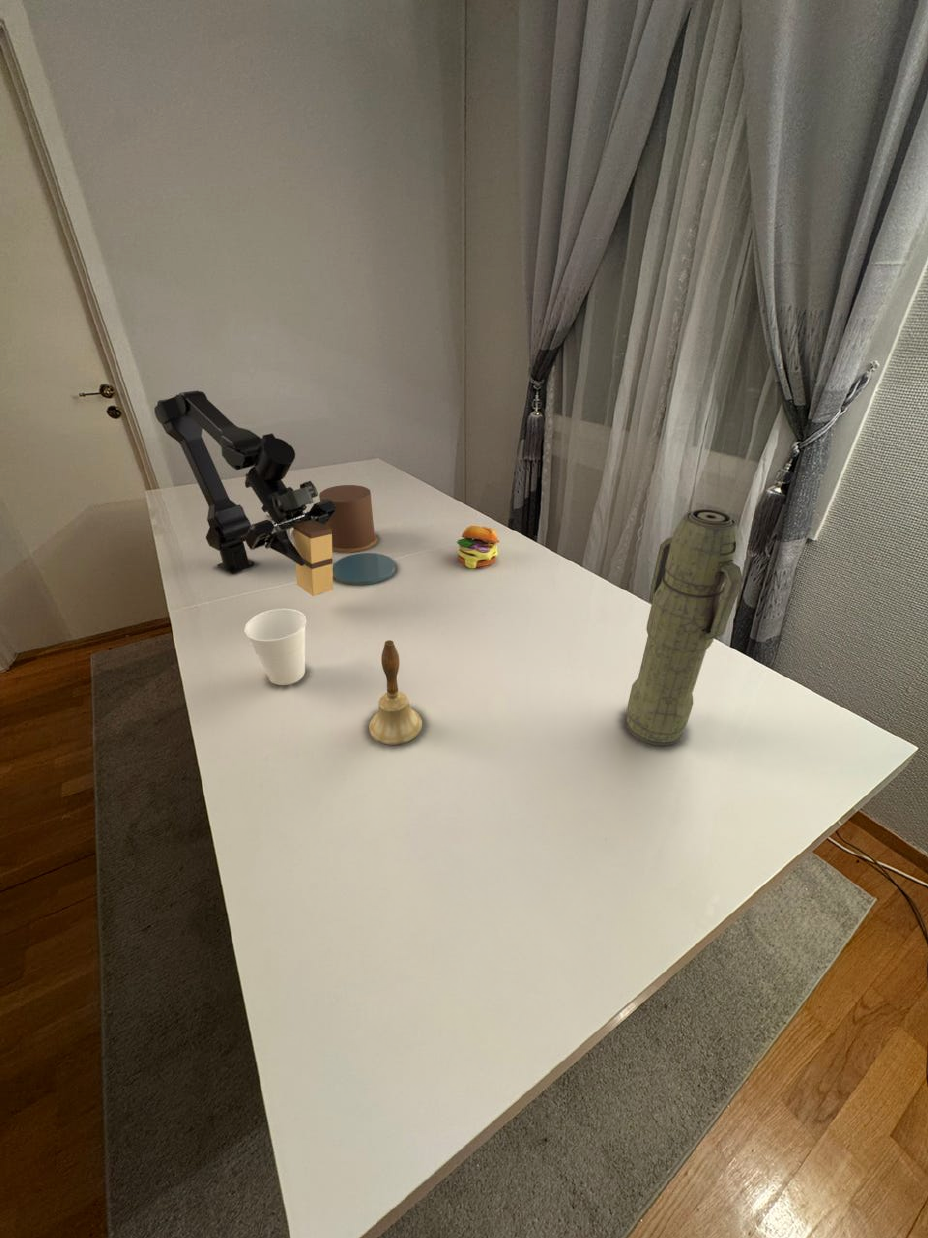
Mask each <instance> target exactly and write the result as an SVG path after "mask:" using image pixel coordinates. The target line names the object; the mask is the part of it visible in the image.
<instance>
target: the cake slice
mask: <svg viewBox="0 0 928 1238" xmlns="http://www.w3.org/2000/svg"><path fill="white" fill-rule="evenodd" d="M292 533H293V543H294V544H293V545H294V547H295V548H296V550H297V551H298V553H299V554H300V556H301V557H302V559H303V561H304V565H303V566H301V565H299V564H297V563H296V562H295V575H296V576H295V577H296V585H297V586H298V587H299V588H301V589H302V590H304V591H305V592H307V593H308V594H309V595H311V596H312V597H315V596H318V595H321V594H324V593H326V592H327V593H328V592H330V591H333V590H334V576H333V566H334V565H333V550H332V529H331V528H329V527H327V526H325V525H323V524H321V523H320V522H318V521H316V520H310V521H305V522H300V523H296V524H293V531H292Z"/></svg>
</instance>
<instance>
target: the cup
mask: <svg viewBox="0 0 928 1238" xmlns="http://www.w3.org/2000/svg"><path fill="white" fill-rule="evenodd" d="M306 625H307V617H306V616H305V614H304V613H303V612H301V611H299V610H298V609H297V610H296V609H292V608H274V609H269V610H266V611H263V612H260V613H258V614H256V615H254V616H252V617H251V618H250V619H249V620H248V621H247V622H246V623H245V625H244V628H243V631H244V635H245V636H246V637H247V639H249V642H250V643H251V646H252V648H253V650H254V652H255V654H256V655H257V657H258V660H259V661H260V664H261V665H262V667H263V670H264V671H265V674H266V676H267V677H268V680H269V681H270V682H271V683H272V684H275V685H278V686H289V685H292V684H294V683H297V682H299V681H300V680H301V679H302V678H303V677H304V676H305V673H306Z"/></svg>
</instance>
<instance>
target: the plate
mask: <svg viewBox="0 0 928 1238" xmlns="http://www.w3.org/2000/svg"><path fill="white" fill-rule="evenodd" d="M332 566H333V578H334V579H335V580H337V582H340V583H343V584H346V585H352V586H364V585H365V586H367V585H373V584H377V583H381V582H383V581H385V580H387V579H388V578H390V577H392V575H394V573H395V570H396V564H395V561H394V560H393V559H392V558H391V557H389V556H387V555H384V554H382V553H381V554H380V553H375V552H374V553H373V552H362V553H356V554H351V555H347V556H345V557H342V558H341V559H339V560H337V561H336V562H335V563H334V564H333V565H332Z"/></svg>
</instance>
